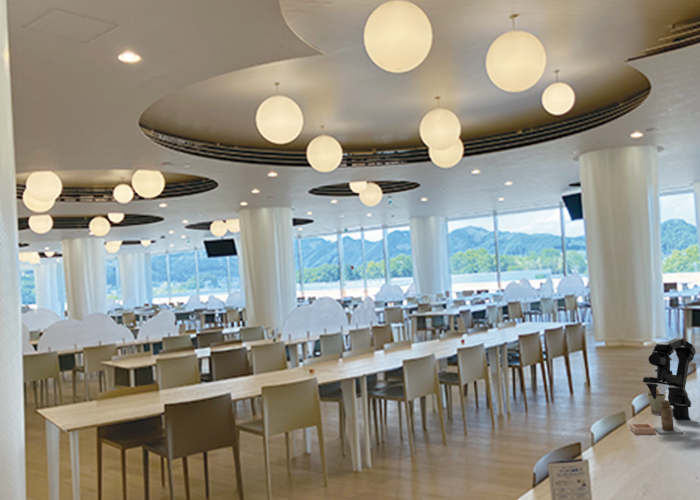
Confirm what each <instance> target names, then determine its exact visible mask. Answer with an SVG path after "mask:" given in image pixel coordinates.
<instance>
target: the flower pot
mask: <svg viewBox="0 0 700 500" xmlns="http://www.w3.org/2000/svg"><path fill="white" fill-rule="evenodd" d="M646 396H647V398H648V401H649V406H650V411H652V412H656V413H661V409H660V407H661V406H662V405H661V402H662V401H663V400H666V396H667V394H665V393H660V392H656V399H653V396H652V394H651V392H650V393H646Z"/></svg>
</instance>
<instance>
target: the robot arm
mask: <svg viewBox="0 0 700 500" xmlns="http://www.w3.org/2000/svg"><path fill="white" fill-rule="evenodd" d="M674 352H675V354H676V357H677V359H678V363H677V368H676V374H673V370H671V361H672V357H670V356H671V355H672V354H674ZM695 355H696V348H695V347H694V345H693V344H692V343H691V342H689V341H688V340H686V338H684V337H675V338H673V339H671V340H669V341H667V342H657V343H656V344H655V346H654V348H653V350H652V352H651V354H650V355H649V356H648V363H649V364H650V365H652V366H655V367H656V369H655V370H654V371H655V373H656V377H652V376H644V377H643V379H642V383H645V385H646V386H647V388H648V390H649V392H650V393H651V394H652V396H653V399H656V393H657V388H658V386H659V384H660V385H666V386H668V388H667V389H668V395H667V399H668V400H667V401H669V402H670V407H672V416H673V419H675V420H678V419H681V420H691V417H690V410H689V408H691V407H692V401H691V400H690V398H689V395H688V394H689V393H688V392H687V390H686V384H687V378H688V372H689V366H690V365H689V364H690V363H691V362H692V361H693V360H694V358H695Z"/></svg>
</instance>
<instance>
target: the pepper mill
mask: <svg viewBox="0 0 700 500" xmlns="http://www.w3.org/2000/svg"><path fill="white" fill-rule="evenodd" d="M661 405H662V406H661V407H660V409H661V412H660V417H661V427H662V430H665V431H673V430H674V427H675V426H674V417H673V414H672V408H673V406H670V402H669V400H666V399H665V400H663V401H662V402H661Z"/></svg>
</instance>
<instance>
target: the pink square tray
mask: <svg viewBox="0 0 700 500" xmlns="http://www.w3.org/2000/svg"><path fill="white" fill-rule="evenodd" d="M654 427H655V426H653V425H652V424H651V423H629V430H631V431H632V432H633V433H634V434H635V435H644V434H645V435H646V434H649V435H651V434H654V435H655V434H657V433H656V431H655V428H654Z"/></svg>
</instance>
